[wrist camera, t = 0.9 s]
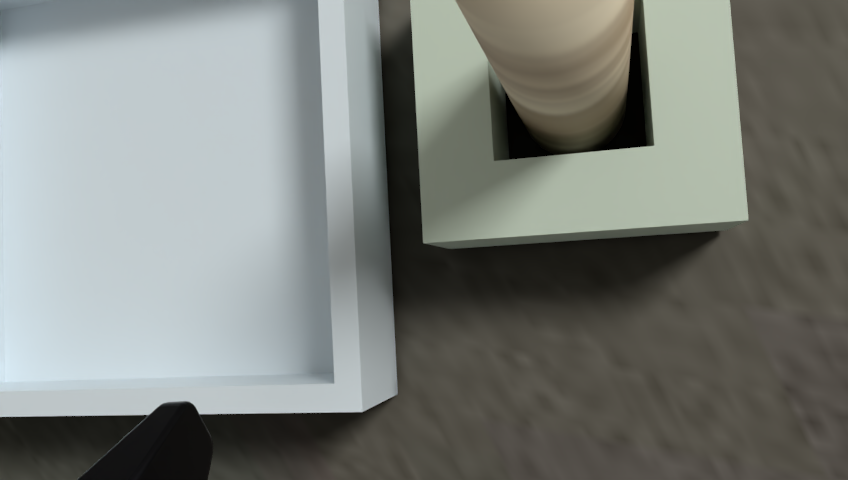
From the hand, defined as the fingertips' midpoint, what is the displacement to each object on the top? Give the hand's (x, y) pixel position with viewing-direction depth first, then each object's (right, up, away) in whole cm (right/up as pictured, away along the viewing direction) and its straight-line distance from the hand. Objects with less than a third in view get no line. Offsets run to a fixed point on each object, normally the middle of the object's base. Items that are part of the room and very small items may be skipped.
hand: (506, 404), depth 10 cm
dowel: (+4, +6, +13) cm, 15 cm away
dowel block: (+4, +6, +13) cm, 15 cm away
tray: (-10, +4, +17) cm, 20 cm away
